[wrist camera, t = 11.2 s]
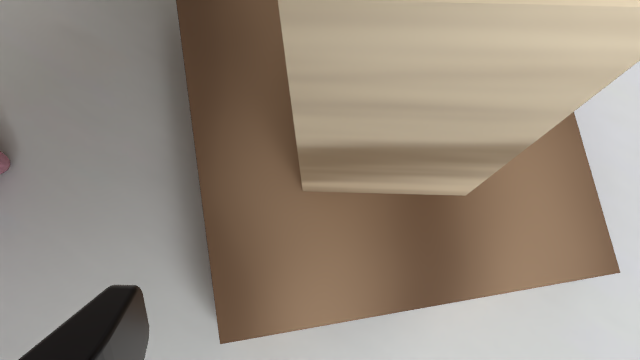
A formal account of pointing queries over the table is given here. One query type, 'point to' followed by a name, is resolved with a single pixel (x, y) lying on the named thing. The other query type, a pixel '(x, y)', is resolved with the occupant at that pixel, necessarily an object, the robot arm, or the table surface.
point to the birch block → (441, 84)
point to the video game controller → (4, 163)
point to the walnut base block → (359, 203)
